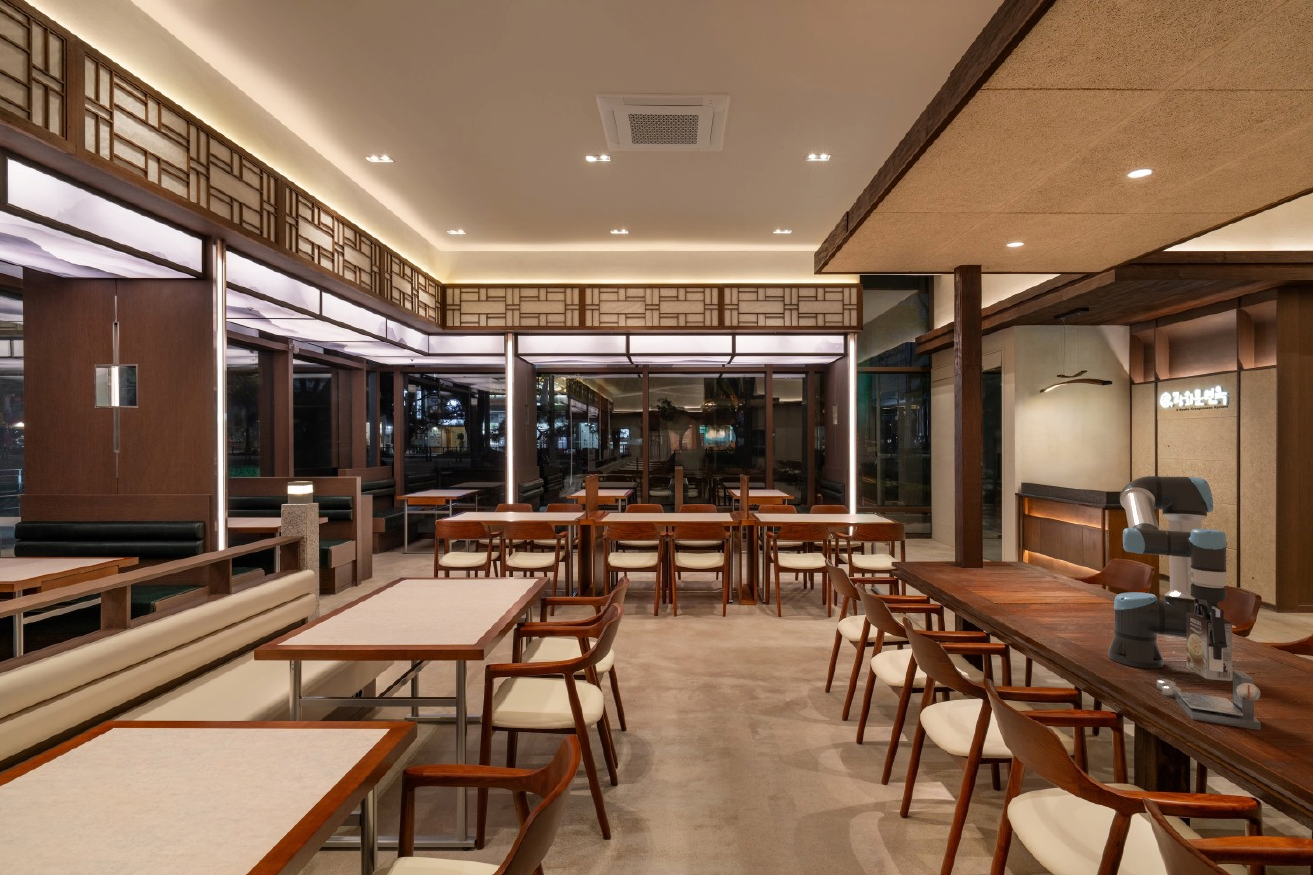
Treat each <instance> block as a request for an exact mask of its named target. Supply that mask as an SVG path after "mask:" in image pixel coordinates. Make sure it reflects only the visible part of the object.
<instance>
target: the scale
mask: <svg viewBox="0 0 1313 875" xmlns="http://www.w3.org/2000/svg"><path fill="white" fill-rule="evenodd" d="M1254 682H1255V679H1254V678H1253V677H1252V676H1250V675H1249V674H1247V673H1246V672H1245V671H1239V670H1232V700H1231V701H1230V700H1229V699H1228V698H1226V697H1221V696H1216V695H1208V694H1200V693H1194V692H1186V691H1181V692H1180V691H1177V693H1178V694H1177V693H1176V698H1175V701H1176V702H1177V703H1178V705H1179V706H1180V707H1181V708H1182V709H1183V710H1184V711H1185V713H1186V714H1187V715H1188V716H1189V718H1191V719H1192V720H1194V721H1201V722H1207V723H1212V724H1213V723H1214V724H1218V725H1219V724H1220V725H1223V726H1224V725H1225V726H1231V727H1236V728H1237V727H1238V728H1243V729H1244V728H1245V729H1251V730H1255V731H1256V730H1257V731H1261V730H1262V729H1261V728H1262V727H1261V726H1262V725H1261V722H1260V721H1259V719H1257V718H1256V717H1255V701H1257V700H1259V698H1260V697H1261V691H1260V688H1258V686H1257V685H1255V683H1254Z"/></svg>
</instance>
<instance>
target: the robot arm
mask: <svg viewBox="0 0 1313 875" xmlns="http://www.w3.org/2000/svg"><path fill="white" fill-rule="evenodd" d="M1119 502H1120V505H1121V507H1122V508H1124V511H1125V514H1126V515H1125V516H1126V520H1127V526H1128V527H1126V528H1124V529H1123V531H1122V544H1123V546H1122V548H1123V550H1124V551H1125V552H1127V553H1132V554H1133V553H1134V554H1137V555H1138V554H1139V555H1140V554H1142V555H1155V556H1156V555H1157V556H1168V561H1169V562H1168V563H1169V590H1168V591H1167V592H1166V593H1165V594H1164V596H1163V598H1164V599H1158V597H1157V596H1156V595H1155V594H1153V593H1148V592H1147V593H1146V592H1137V591H1136V592H1132V591H1131V592H1122V593H1119V594H1117V595H1116V596H1115V597H1114V601H1113V602H1114V606H1113V609H1114V616H1113V617H1114V628H1113V629H1114V631H1113V638H1112V640H1111V643H1110V645H1109V647H1108V649H1107V656H1108V658H1109V659H1110V660H1112V661H1114V662H1116V663H1119V664H1121V665H1126V666H1131V667H1136V668H1141V669H1142V668H1143V669H1152V670H1153V669H1154V670H1155V669H1160V668H1161V669H1162V668H1163V667H1164V666H1165V665H1164V657H1163V654H1162V652H1161V649H1160V647H1159V644H1158V639H1157V638H1158V636H1157V635H1161V636H1169V637H1176V638H1182V639H1183V638H1184V639H1186V632H1187V631H1186V613H1197V614H1202V616H1203V618H1204V619H1205V620H1211V627H1212V630H1210V643H1211V644H1208V646H1209V670H1212V671H1219V672H1223V648H1227V643H1226V634H1225V625H1224V617H1225V611H1224V610H1223V609H1221V608H1220V607H1219V604H1218V603H1219V602H1226V601H1227V599H1228V598H1227V597H1228V596H1227V593H1228V591H1227V590H1228V589H1227V586H1228V573H1227V572H1228V571H1227V546H1228V542H1227V534H1226V533H1225V532H1224V531H1223V530H1218V529H1212V528H1211V529H1210V528H1203V527H1202V523H1203V521H1204V520H1205V519H1207V518H1208V513H1212V512H1213V511H1214V499H1213V494H1212V490H1211V486H1210V485H1209V483H1208V480H1206V479H1204V478H1202V477H1194V476H1193V477H1192V476H1159V475H1158V476H1155V475H1148V476H1141V477H1138V478H1136V479H1134V480H1132V481H1130V482H1129V483H1127V484H1126V485H1125V486H1124V487H1123V488H1122V489H1121V490H1120V493H1119ZM1156 510H1161V512H1162V513H1161V514H1162V516H1163V517H1165V518H1166V519H1167V521H1168V524H1167V525H1168V530H1164V529H1162V530H1161V529H1160V527H1159V522H1158V520H1157V515H1156V512H1155V511H1156Z"/></svg>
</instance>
